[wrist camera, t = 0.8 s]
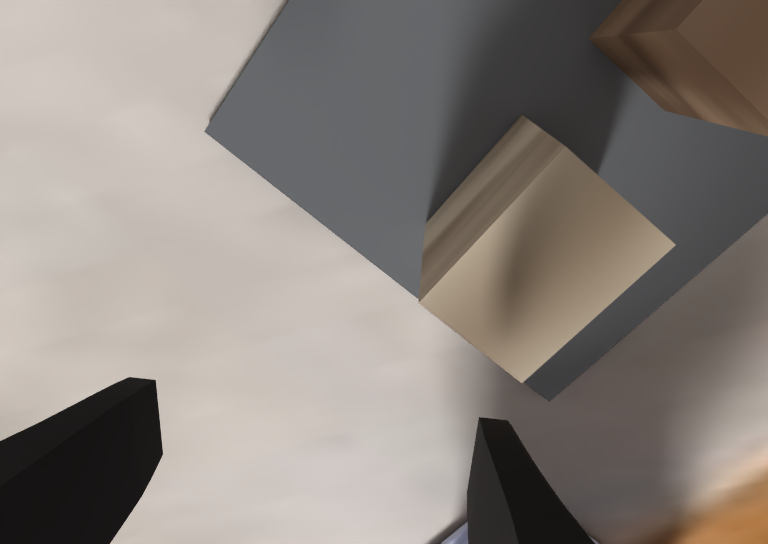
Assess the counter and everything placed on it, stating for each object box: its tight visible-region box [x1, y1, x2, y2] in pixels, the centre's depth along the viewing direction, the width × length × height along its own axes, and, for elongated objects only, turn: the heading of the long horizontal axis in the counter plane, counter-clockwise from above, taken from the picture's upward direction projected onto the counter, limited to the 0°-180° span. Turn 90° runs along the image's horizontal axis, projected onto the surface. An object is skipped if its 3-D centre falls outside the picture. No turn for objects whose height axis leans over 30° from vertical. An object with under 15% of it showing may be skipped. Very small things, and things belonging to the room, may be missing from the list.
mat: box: [204, 0, 768, 401], centre depth 19 cm, size 17×16×1 cm
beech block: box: [419, 115, 676, 383], centre depth 16 cm, size 4×5×7 cm
